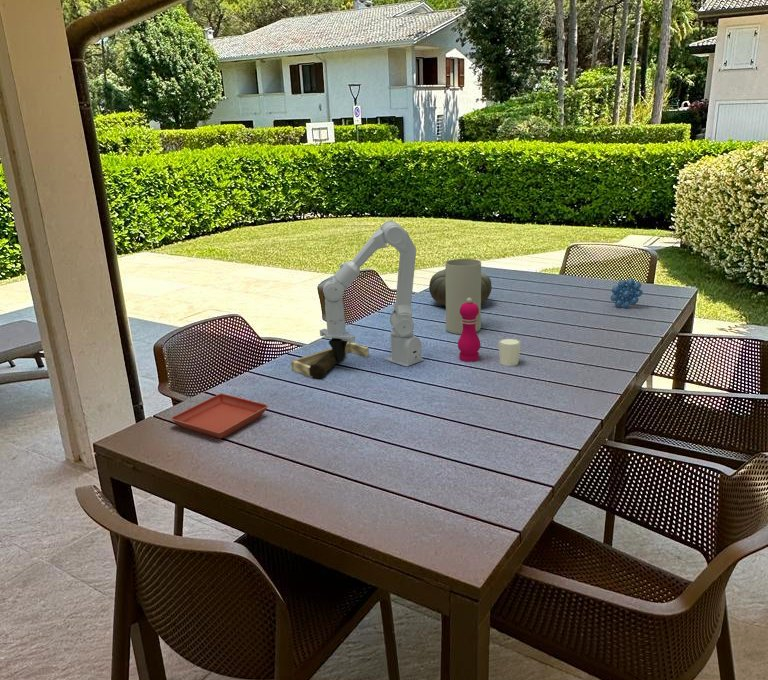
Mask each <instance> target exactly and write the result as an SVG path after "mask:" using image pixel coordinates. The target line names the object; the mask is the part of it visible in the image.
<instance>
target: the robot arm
mask: <svg viewBox="0 0 768 680" xmlns="http://www.w3.org/2000/svg"><path fill="white" fill-rule="evenodd" d="M387 244H388V245H389V246H391V247H393V248H395V249H396V250H397V252H398V253H399V259H398V273H397V284H396V293H395V294H396V295H395V296H396V297H395V303H394V305H393V311H392V313H391V314H390V316H389V324H390V325H391V326H392V330H391V331H390V345H391V346H390V347H391V354H390V355H391V356H389V357H387V358H385V360H386V361H388V362H391V363H394V364H397V365H400V366H402V367H403V366H404V367H409V366H412V365H414V364H416V363H417V364H418V363H419V362H422V361H424V358H422V341H421V339H420V338H419V337H417V336H416V335H415V333H414V329H415V323H414V321H413V310H412V299H413V288H414V279H415V278H414V277H415V269H416V267H415V266H416V265H415V264H416V256H417V248H416V246H415V244H414V242H413V240H412V238H411V236H410V235H409V233H408V231H407V230H405V228H403V227H402V225H400V224H398V222H396V221H394V220H387V221H385V222H383V223H382V224H381V225H380V227H378V229H376V230H375V231H374V233H373V234H372V235H371V236H370V238H369V239H368V240H367V241H366V243H364V244H363V246H362V247H361V249H360V250H359V251H358V252H357V253H356V255H355V257H353V258H352V260H349V261H345V262H344V263H340V264H339V266H338V267H339V268H338V270H337V271H336V272H335V273H334V274H333V275H330V277H329V280H327V281H326V282H325V283H324V285H323V287H322V292H323V293H322V294H323V295H324V298H325V299H324V311H325V320H326V328H323V329H319V335H320V336H321V337H325V338H326V339H330V340H328V344H329V345H330V348H332V349H333V350H334V353H335V358H336V361H337V363H341V362H343V361H345V356H344V350H345V346H346V344H347V343H355V342H356V336H355V335H354V334H352V333H350V332H348V331H347V329H346V318H345V309H344V308H345V307H344V303H343V296H344V291H345V290H347V289H348V288H349V287H350V286H351V285H352V284H353V282H355V280H356V279H357V278H358V277H359V276H360V274H361V273H360V272H361V271H360V268H361V267H362V266H363V265H364V264H365V263H366V262H367V261H368V260H369V259H370V258H371V257H372V256H373V254H374V253H376V252H377V251H378V250H381V249H386V248H388V245H387Z"/></svg>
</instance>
